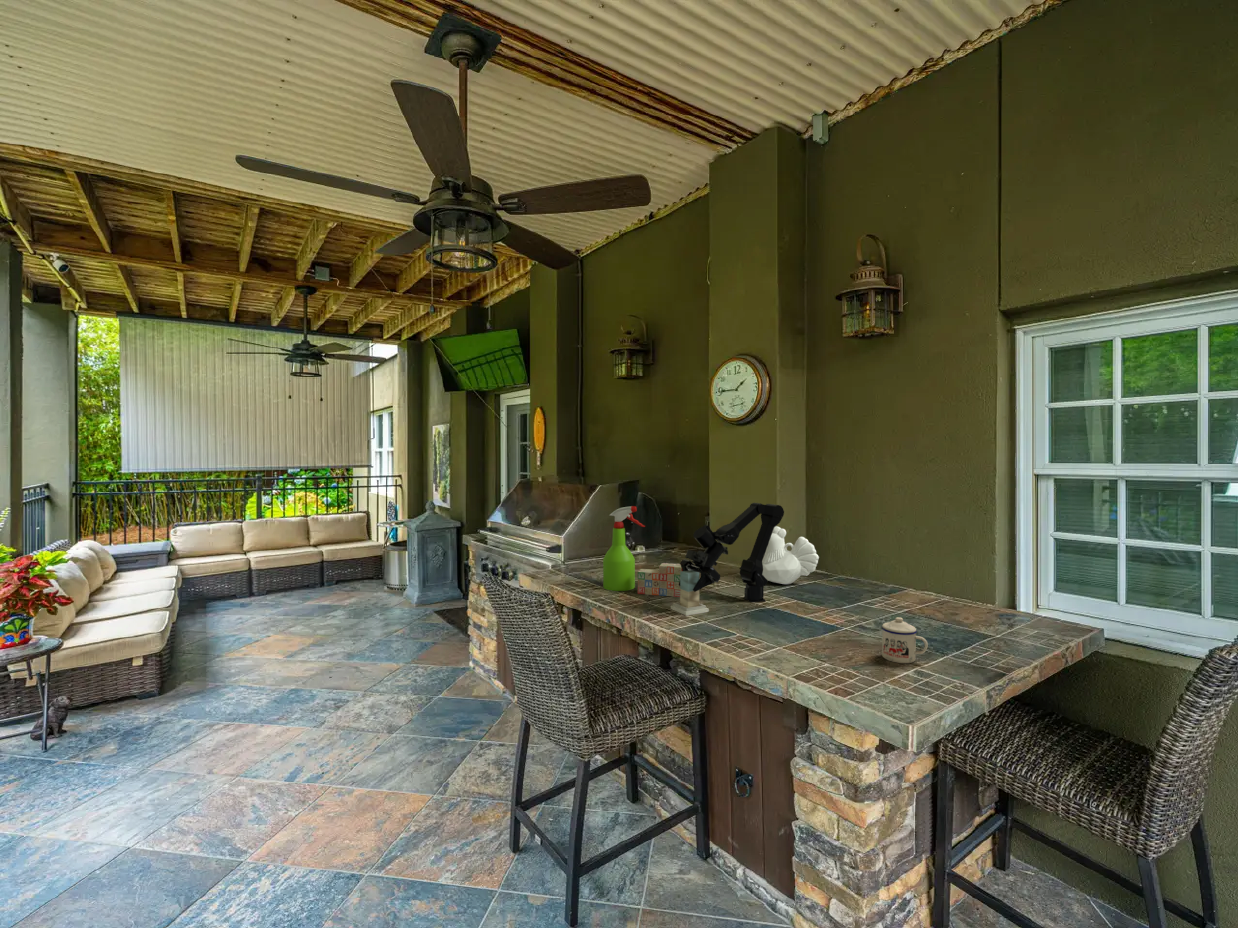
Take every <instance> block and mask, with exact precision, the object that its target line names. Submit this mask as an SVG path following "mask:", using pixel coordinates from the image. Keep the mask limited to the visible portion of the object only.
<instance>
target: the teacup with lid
mask: <svg viewBox="0 0 1238 928" xmlns="http://www.w3.org/2000/svg"><path fill="white" fill-rule="evenodd" d="M881 629H882V635H881V637H882V639H881V640H882V643H881V644H882V645H881V649H882V650H881V656H882V657H883V658H884V659H885V660H886V661H889V662H892V663H898V664H910V663H914V662H915V661H916V655H922V654H925V652H926V651H927V649H928V646H929V643H928V640H926V638H924V637H923V636H919V635H917V633H918V632H917V631H918V630H917V629H916V627H915V626H913V625H911V624H910V623H908V622H906V621H904V619H903V618H902V617H901V616H900V617H895V619H894V620H891V621H888V622H884V623H883V624H882V625H881ZM916 640H920V641H922V642H923V644H924V648H923V649H922V650H916V648H917V647H916V644H917V643H916Z"/></svg>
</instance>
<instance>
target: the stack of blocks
mask: <svg viewBox="0 0 1238 928" xmlns="http://www.w3.org/2000/svg"><path fill="white" fill-rule="evenodd" d="M680 571H682V568H681V565H680V563H667V562H663V563H662V562H661V564H660V565H659V567H658V569H646V568H640V569H639V570H638V571H637V595H648V596H661V597H662V596H663V597H675V598H680V586H679V582H680Z"/></svg>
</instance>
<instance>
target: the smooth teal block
mask: <svg viewBox="0 0 1238 928" xmlns="http://www.w3.org/2000/svg"><path fill="white" fill-rule="evenodd" d="M699 579H700V573H699V572H696V571H693V570H689V571H680V597H679V602H680V605H681V606H684V607H686V608H690V607H696V606H699V603H700V590H698V591H696V592H694V591H693V589H694V587H695V585H696V583H697V582H698V580H699Z"/></svg>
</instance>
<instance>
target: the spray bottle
mask: <svg viewBox="0 0 1238 928" xmlns="http://www.w3.org/2000/svg"><path fill="white" fill-rule="evenodd" d="M636 512H637V506H635V505H631V506H625V507H619V508H618V509H617V508H616V509H615V510H614V511H613V512H611V513H610V514H609V516H611V517H614V523H613V528H612V540H611V541H612V542H611V546H610V547H609V549H608V550H607V552H606V553H605V555H604V557H603V559H602V572H603V573H602V574H603V577H602V579H603V580H602V581H603V582H602V584H603V586H602V587H603V589H605V590H608V591H613V592H625V591H631V590H633V589H635V587H636V579H635V578H636V572H635V571H636V567H635V566H636V559H635V557H634V555H633V553H632V552H631V550H630V549H629V548H628V546H627V545H626V528H625V525H624V522H623V521H624V520H625V519H627V520H629V521H631V522H633V523H634V524H635V525H638V526H639V527H640V528H641V527H642V528H645V527H646V525H645V524H643V523H641V522H640V521H639V520H637V519H635V518H634V516H633V514H632V513H636Z"/></svg>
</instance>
